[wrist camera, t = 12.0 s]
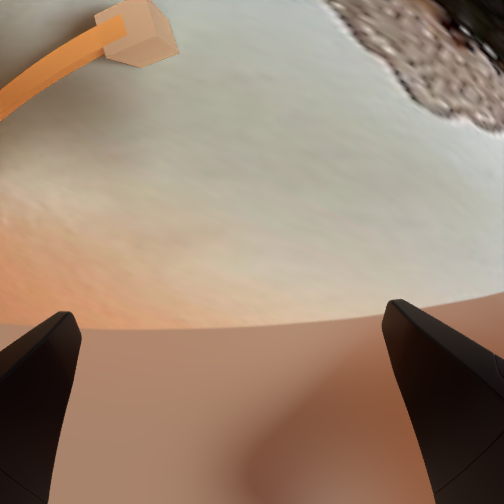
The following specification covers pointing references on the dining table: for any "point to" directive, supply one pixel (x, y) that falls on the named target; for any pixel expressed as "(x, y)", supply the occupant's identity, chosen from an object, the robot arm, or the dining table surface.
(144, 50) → the rail
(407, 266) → the dining table surface
